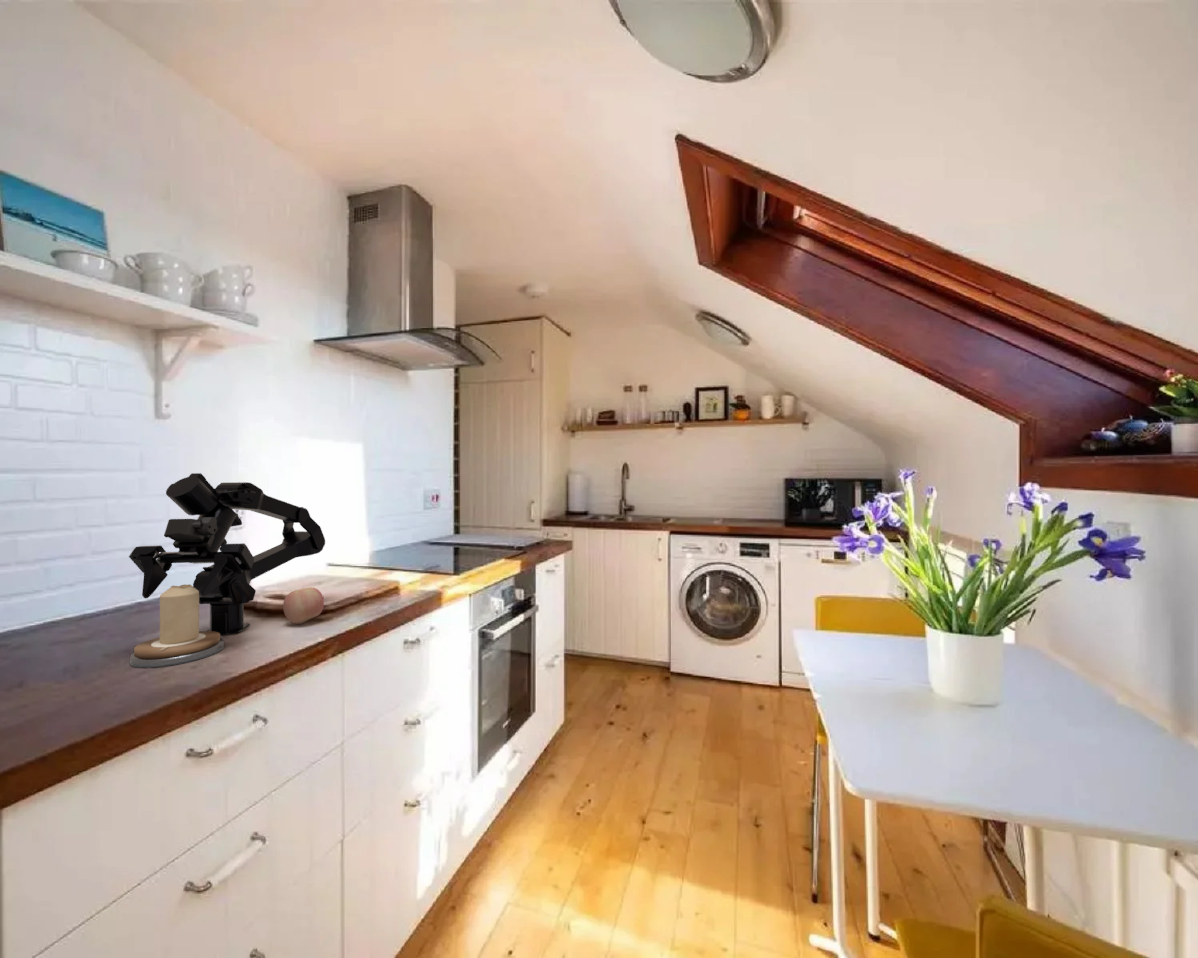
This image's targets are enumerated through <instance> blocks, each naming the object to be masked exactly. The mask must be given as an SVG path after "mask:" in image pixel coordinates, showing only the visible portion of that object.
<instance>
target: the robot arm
mask: <svg viewBox="0 0 1198 958" xmlns="http://www.w3.org/2000/svg"><path fill="white" fill-rule="evenodd" d="M165 495H166V496H167V497H168V498H169V499H170V500H171V501H172V502H173V503H175V504H176V505H177V506H178V507H179V508H180V509H181V511H183V512H184V513H185V514H187V515H188V516H198V517H197V519H195V518H171V519H168V521H167V524H166V527H165V530H164V535H163V536H164V537H165V538H169V539H171V540H172V541H173V543H172V546H173V547H174V548H175V549H179V550H178V551H166V550H165V548H164V547H163V545H139V546H135V547H134V548H133V550H132V551H131V552H130V554H129V555H128V557H129V559H130V560H131V561H132V562H133V563H134V565H136V567H137V568H138V569H139V570H140V571H141V573H143V583H142V593H141V595H142V597H143V599H149V597H151V595H153V594H154V592H155V591H156V590H157V589H158V587H160V585H161V584H162V582H163V581H164V580H166V578H167V577H168V576H169V575H168V573H167V572H168V571H170V569H171V568H172V565H173V564H183V563H185V564H186V563H187V564H195V565H197V564H212V565H209V566H203V567H202V569H203V570H201V571H200V572H198V573H197V574H196V576H195V578H194V580H193V583H192V586H193V587H194V588H195V589H197V590H198V591H199V605H209V629H208V630H207V631H215V632H218V633H220V636H223V635H232V634H233V635H234V634H239V633H241V632H242V631H243V630H245V629H246V628H248V627H250V626H251V622H245V623H244V604H248V603H249V602H251V601H253V600H254V599H255V596H256V589H255V588H254V586H252V585H251V581H252V580H254V579H257V578H258V577H260V576H262V575H265V574H266V573H268V572H270V571H272V570H274V569H275V568H278V567H279V566H281V565H283V564H286V563H288V562H290V561H292V560H293V559H296V558H300V557H307V556H308V557H309V556H313V555H316V554H320V553H321V552H322V551H323V549H324V547H325V545H326V539H325V536H324V533H323V530H322V528H321V526H320V525H319V524H318V523H317V522H316V521H315V519H313V518H312V517H311V514H310V512H309V510H308V509H307V508H305V507H302V506H298V505H294V504H293V503H292V504H291V503H289V502H287V501H283V500H280V499H278V498H275V497H272V496H269V495H267V494H265V492H264V491H263V490H262V489H261V488H260V487H258V486H257V485H255V484H253V483H252V482H245V481H244V482H243V481H241V482H220V484H218V485H216V487H215V488H214V487H213V485H211V484H210V482H208V480H207V479H206V477H205V476H204V474H202V473H201V472H200V473H199V472H197V473H196V472H195V473H190V474H189V475H188V476H187V477H184V478H181V479H179V480H177V481H175V482H174V483H171V484H170V485H169V486H168V487H167V489H166V490H165ZM235 510H241V511H251V512H255V513H257V514H261V515H264V516H267V517H271V518H274V519H278V520H281V521H282V522H283V529H282V537H283V539H282V542H281V543H280V544H278V545H276V546H274V547H271V548H270V549H269V548H268V549H267V550H264V551H262V552H260V553H258V554H256V555H253V554H252V552H251V551H250V549H249V548H248V546H247V545H246V543H242V542H241V543H228V541H227V539H226V537H227V535H228V533H229V531H230V529H231V527H232V528H233V527H237V526H241V525H243V522H242V518H240V517H239V514H238V513H236V512H235ZM298 523H299V525H300V526H301V528H303V529H304V530H305V531H304V530H303V531H299V530H298V531H295V529H294V528H295V527H294V524H298Z"/></svg>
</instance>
